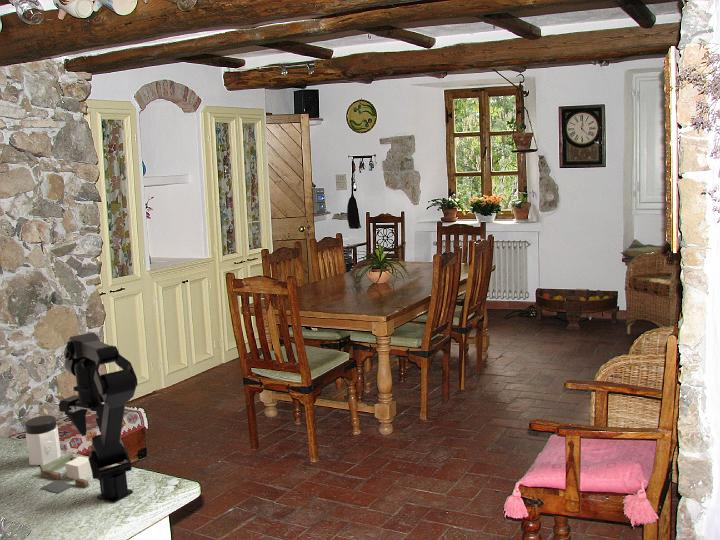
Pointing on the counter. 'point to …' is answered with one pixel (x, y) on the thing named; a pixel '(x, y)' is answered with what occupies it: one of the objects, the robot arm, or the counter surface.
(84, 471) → the block
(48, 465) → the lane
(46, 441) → the jar
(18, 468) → the counter surface
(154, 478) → the counter surface
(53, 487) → the mat
